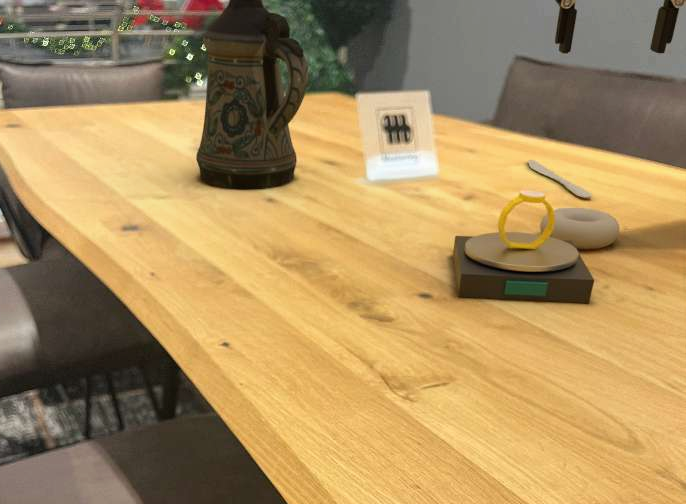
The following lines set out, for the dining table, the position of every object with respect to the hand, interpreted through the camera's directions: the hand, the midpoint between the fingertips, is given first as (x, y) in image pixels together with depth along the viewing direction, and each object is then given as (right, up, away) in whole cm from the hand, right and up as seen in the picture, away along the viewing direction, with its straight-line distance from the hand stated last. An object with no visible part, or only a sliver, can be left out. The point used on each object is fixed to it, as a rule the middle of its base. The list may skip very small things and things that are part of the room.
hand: (610, 52), depth 81 cm
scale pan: (-8, -20, +6) cm, 22 cm away
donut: (+3, -14, +20) cm, 24 cm away
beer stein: (-41, +6, +46) cm, 62 cm away
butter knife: (+9, +6, +48) cm, 49 cm away
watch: (-8, -19, +5) cm, 22 cm away
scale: (-8, -22, +7) cm, 25 cm away
